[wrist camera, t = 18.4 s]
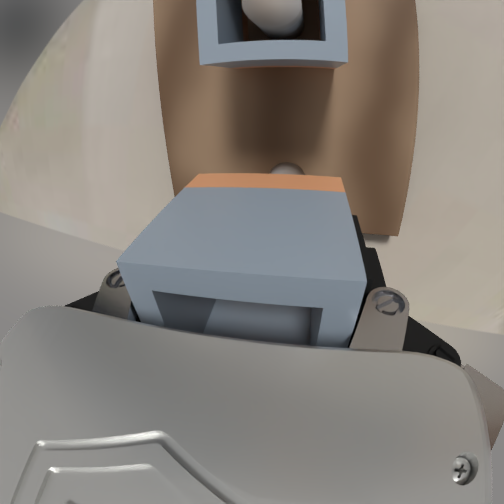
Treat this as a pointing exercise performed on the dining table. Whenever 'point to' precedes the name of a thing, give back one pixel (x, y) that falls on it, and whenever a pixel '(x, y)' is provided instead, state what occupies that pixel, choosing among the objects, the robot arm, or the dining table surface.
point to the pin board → (298, 103)
